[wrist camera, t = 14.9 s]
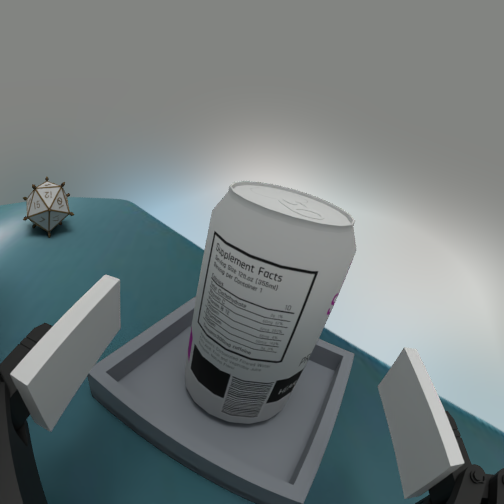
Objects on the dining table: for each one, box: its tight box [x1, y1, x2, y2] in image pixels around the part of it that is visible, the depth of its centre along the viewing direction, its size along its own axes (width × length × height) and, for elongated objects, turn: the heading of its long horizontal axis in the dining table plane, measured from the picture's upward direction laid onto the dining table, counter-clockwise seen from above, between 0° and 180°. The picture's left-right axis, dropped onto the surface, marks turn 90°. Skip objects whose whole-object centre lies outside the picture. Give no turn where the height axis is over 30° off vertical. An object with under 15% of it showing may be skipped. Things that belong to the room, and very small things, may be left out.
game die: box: [23, 177, 74, 238], centre depth 36 cm, size 9×8×10 cm
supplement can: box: [185, 181, 356, 424], centre depth 19 cm, size 8×8×15 cm
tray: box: [87, 296, 354, 504], centre depth 22 cm, size 16×16×3 cm
